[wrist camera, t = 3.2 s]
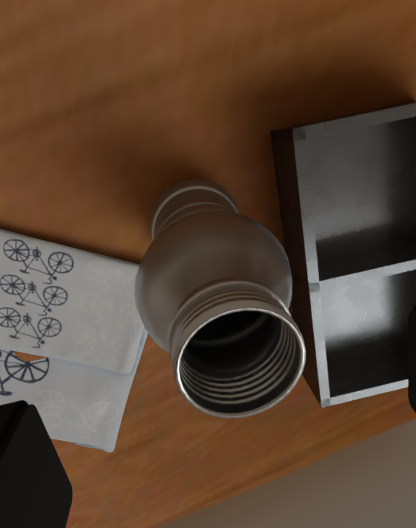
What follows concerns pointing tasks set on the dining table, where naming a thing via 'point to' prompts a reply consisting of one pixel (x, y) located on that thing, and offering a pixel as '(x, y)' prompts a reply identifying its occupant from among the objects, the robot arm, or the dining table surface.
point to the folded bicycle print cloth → (68, 336)
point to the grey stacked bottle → (219, 302)
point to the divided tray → (351, 246)
